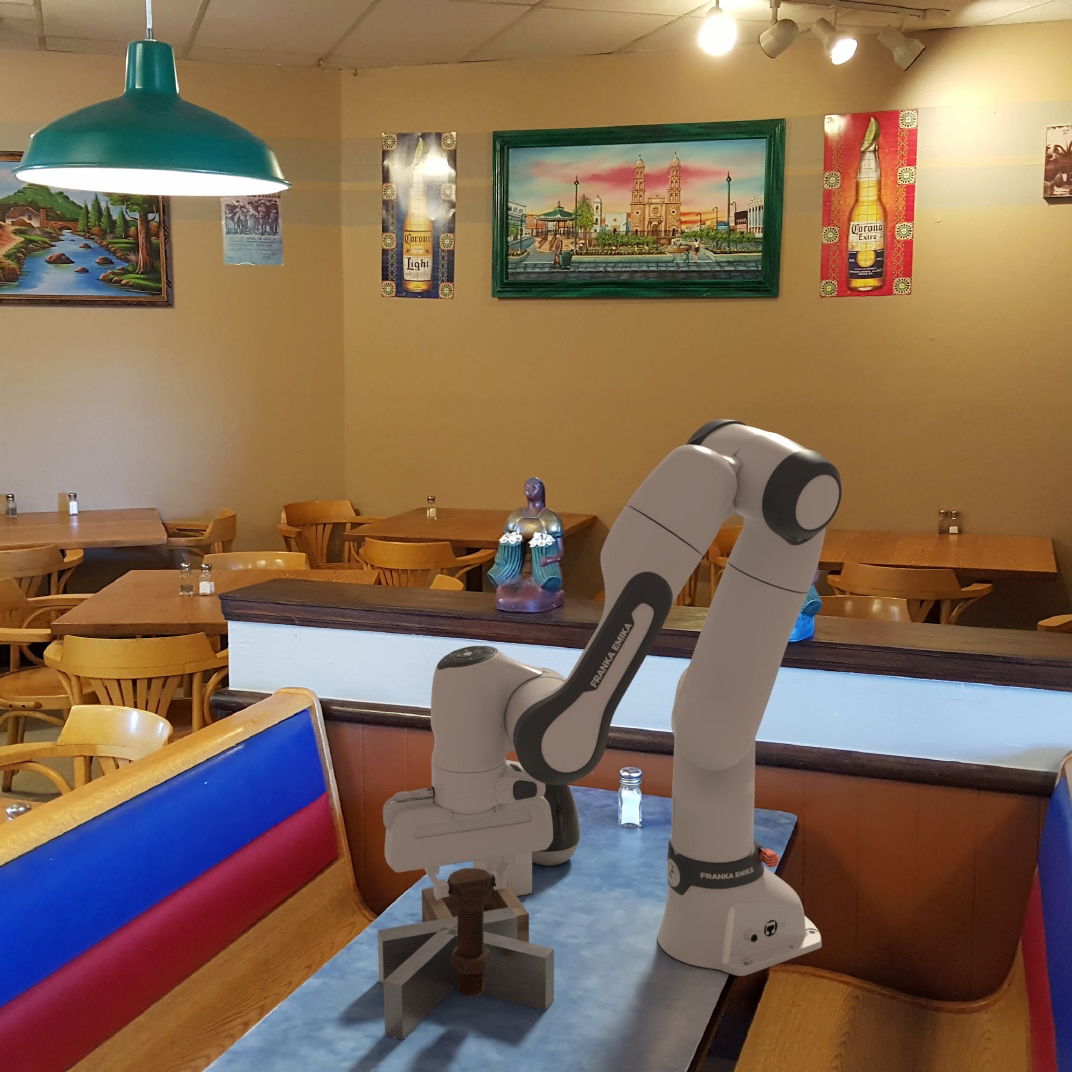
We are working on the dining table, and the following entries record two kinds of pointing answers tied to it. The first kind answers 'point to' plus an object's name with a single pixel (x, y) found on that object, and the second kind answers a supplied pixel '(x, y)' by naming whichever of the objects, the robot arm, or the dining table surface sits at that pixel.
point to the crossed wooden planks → (427, 975)
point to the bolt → (470, 928)
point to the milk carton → (512, 871)
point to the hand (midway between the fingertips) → (470, 892)
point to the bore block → (493, 901)
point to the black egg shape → (560, 826)
